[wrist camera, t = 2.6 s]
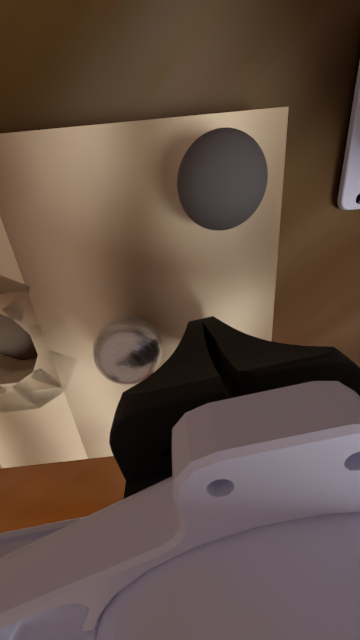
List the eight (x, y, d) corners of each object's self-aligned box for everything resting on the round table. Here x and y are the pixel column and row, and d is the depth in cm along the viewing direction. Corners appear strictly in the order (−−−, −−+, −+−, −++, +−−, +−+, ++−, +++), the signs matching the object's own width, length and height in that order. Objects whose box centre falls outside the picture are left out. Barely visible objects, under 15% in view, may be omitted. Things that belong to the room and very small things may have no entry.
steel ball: (159, 303, 12) (157, 331, 9) (166, 356, 13) (166, 396, 11) (96, 309, 12) (74, 340, 9) (109, 363, 13) (93, 404, 11)
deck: (264, 127, 12) (288, 106, 9) (252, 411, 19) (263, 439, 17) (-160, 167, 11) (-242, 156, 9) (-5, 439, 19) (-29, 471, 16)
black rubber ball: (251, 138, 10) (289, 105, 7) (249, 224, 11) (280, 228, 8) (171, 146, 10) (174, 116, 7) (178, 231, 11) (183, 238, 8)
